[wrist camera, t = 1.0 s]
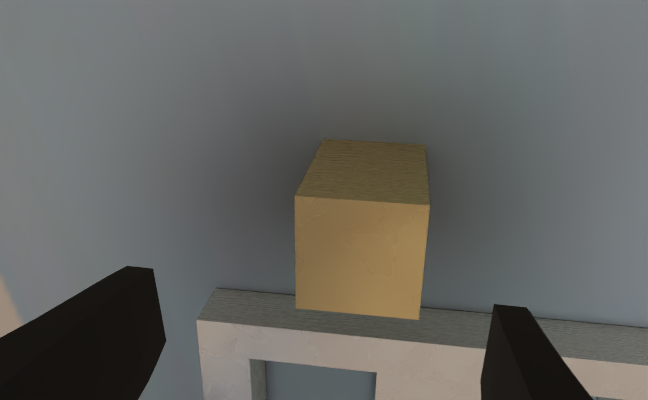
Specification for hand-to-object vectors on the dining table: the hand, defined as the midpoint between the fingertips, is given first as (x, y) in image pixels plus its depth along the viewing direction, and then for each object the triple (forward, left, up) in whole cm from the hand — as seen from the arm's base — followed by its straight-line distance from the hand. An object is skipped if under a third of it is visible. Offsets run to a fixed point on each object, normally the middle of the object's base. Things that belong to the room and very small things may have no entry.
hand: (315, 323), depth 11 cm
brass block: (-1, -1, -11) cm, 11 cm away
